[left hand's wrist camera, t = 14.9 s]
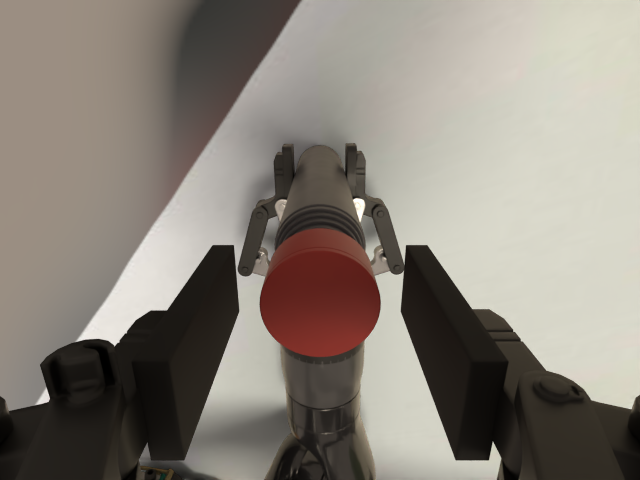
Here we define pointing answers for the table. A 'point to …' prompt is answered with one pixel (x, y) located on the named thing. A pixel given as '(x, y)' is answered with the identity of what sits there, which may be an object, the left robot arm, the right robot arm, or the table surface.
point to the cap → (320, 293)
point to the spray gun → (158, 474)
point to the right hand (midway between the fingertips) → (319, 146)
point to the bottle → (320, 198)
